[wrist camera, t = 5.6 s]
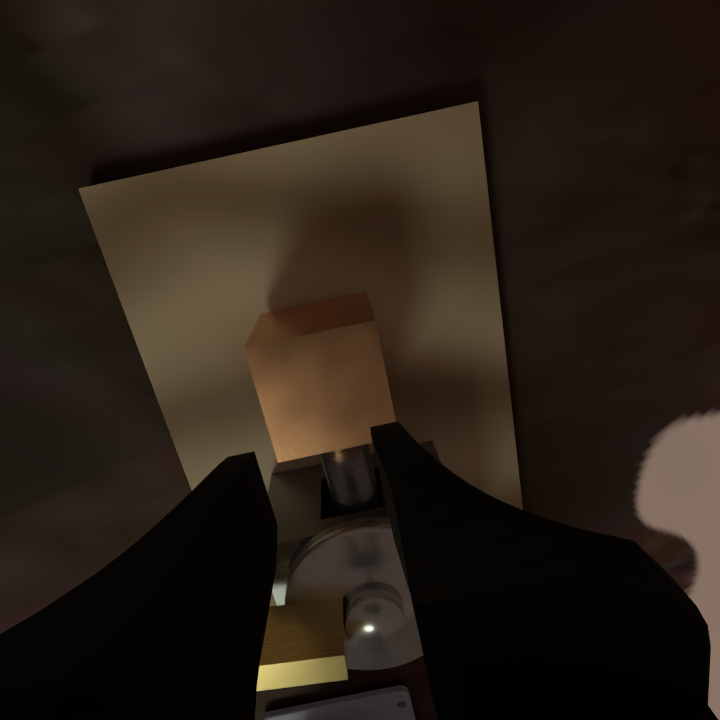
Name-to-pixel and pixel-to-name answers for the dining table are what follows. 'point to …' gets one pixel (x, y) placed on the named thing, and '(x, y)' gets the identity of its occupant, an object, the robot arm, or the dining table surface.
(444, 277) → the oak board
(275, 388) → the brown blocky piece
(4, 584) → the dining table surface
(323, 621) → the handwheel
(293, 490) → the eye block
